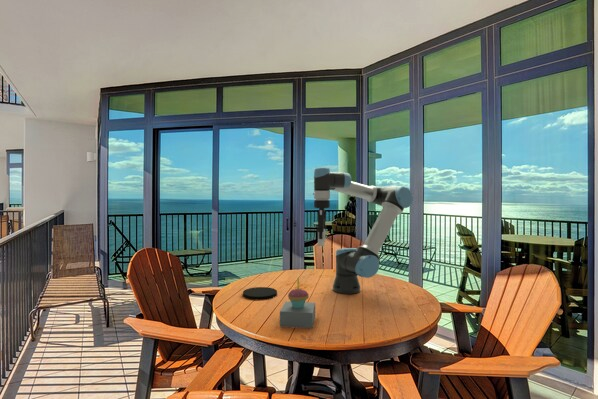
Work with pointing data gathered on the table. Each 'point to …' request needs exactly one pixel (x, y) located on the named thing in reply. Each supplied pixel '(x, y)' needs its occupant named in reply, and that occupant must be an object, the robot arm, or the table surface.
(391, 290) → the table surface
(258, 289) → the wireless charger
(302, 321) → the plinth
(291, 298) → the cupcake
